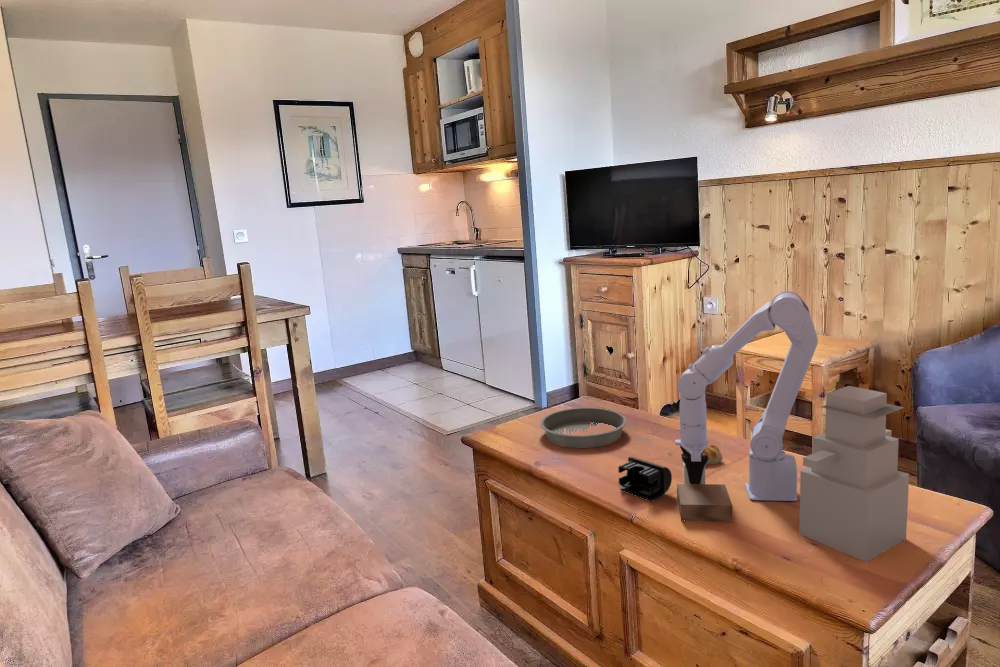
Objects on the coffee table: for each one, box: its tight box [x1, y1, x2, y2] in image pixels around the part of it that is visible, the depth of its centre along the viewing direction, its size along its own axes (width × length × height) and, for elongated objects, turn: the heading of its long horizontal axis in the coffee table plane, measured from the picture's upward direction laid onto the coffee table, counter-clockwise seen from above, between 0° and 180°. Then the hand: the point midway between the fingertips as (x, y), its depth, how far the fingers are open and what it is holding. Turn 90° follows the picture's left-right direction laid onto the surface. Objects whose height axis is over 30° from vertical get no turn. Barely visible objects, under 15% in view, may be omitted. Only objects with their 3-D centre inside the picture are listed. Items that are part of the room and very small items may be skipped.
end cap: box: [618, 456, 673, 502], centre depth 147 cm, size 10×7×7 cm
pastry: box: [681, 443, 724, 466], centre depth 162 cm, size 9×7×4 cm
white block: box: [682, 461, 706, 484], centre depth 148 cm, size 4×4×6 cm
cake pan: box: [539, 407, 628, 449], centre depth 186 cm, size 25×25×4 cm
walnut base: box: [676, 483, 733, 523], centre depth 136 cm, size 10×10×4 cm
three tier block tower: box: [798, 385, 910, 563], centre depth 120 cm, size 13×24×28 cm, turn 121°
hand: (694, 479), depth 148 cm, fingers closed on white block, 4 cm apart
